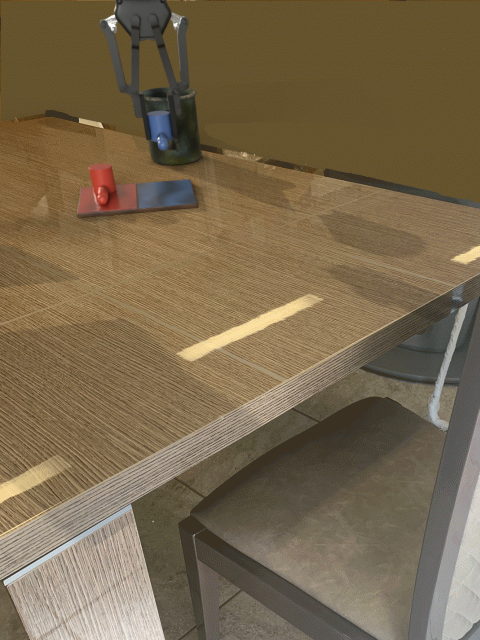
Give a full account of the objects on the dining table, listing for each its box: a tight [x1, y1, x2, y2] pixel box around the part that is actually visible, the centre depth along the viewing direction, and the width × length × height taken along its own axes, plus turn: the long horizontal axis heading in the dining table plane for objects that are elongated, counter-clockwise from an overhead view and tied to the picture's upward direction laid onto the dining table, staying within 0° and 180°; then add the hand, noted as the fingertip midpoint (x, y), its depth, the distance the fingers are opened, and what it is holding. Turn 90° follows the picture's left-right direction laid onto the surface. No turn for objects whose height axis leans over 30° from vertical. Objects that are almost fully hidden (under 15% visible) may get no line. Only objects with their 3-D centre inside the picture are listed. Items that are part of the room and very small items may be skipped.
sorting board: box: [76, 178, 199, 219], centre depth 109 cm, size 19×14×1 cm
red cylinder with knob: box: [88, 162, 117, 205], centre depth 107 cm, size 10×4×4 cm, turn 13°
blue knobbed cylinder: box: [147, 111, 173, 151], centre depth 104 cm, size 10×4×4 cm, turn 13°
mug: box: [139, 86, 202, 166], centre depth 124 cm, size 11×15×12 cm
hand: (161, 137), depth 108 cm, fingers closed on blue knobbed cylinder, 4 cm apart
